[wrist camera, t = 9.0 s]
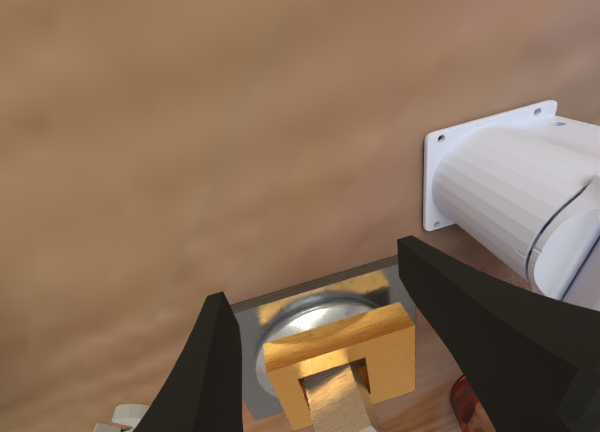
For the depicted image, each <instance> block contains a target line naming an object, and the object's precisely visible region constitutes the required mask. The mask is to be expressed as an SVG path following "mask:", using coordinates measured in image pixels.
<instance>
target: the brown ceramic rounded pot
mask: <svg viewBox="0 0 600 432" xmlns="http://www.w3.org/2000/svg"><path fill="white" fill-rule="evenodd" d="M451 404H452V407H453V410H454V413H455V415H456V418H457V420H458V422H459V425H460V427H461V429H462V431H463V432H496V430H495V428H494V427H493V425H492V423H491V421H490V419H489V417H488V416H487V414H486V412H485V410H484V408H483V406H482V405H481V403H480V401H479V399H478V398H477V396H476V394H475V392H474V391H473V389H472V387H471V386H470V384H469V382H468V380H467V379H466V377H465V376H464V377H462V378H461V379H460V380H459V381H458V382H457V383H456V385H455V386H454V388H453V390H452V392H451Z"/></svg>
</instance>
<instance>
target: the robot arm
mask: <svg viewBox="0 0 600 432" xmlns="http://www.w3.org/2000/svg"><path fill="white" fill-rule="evenodd" d="M556 109H557V102H556V101H553V100H547V101H543V102H539V103H536V104H532V105H529V106H525V107H521V108H518V109H514V110H510V111H507V112H503V113H499V114H496V115H492V116H488V117H485V118H481V119H478V120H474V121H470V122H467V123H463V124H459V125H456V126H452V127H448V128H445V129H441V130H438V131H434V132H431V133H429V134H428V135H427V136H426V138H425V141H424V192H423V228H424V229H425V230H426V231H432V230H436V229H439V228H442V227H446V226H449V225H453V224H457V225H459V226H460V227H461V228H462V229H464V230H465V231H466V232H467V233H468V234H470V235H471V236H472V237H473V238H475V239H476V240H477V241H478V242H479V243H481V244H482V245H483V246H484V247H486V248H487V249H488V250H489V251H490V252H492V253H493V254H494V255H495V256H497V257H498V258H499V259H500V260H501V261H503V262H504V263H505V264H506V265H508V266H509V267H510V268H511V269H512V270H514V271H515V272H516V273H517V274H519V275H520V276H521V277H522V278H523V279H525V280H526V281H527V282H528V283H530V284H531V285H532V292H531V291H528V290H525V289H523V288H520V287H517V286H515V285H512V284H509V283H507V282H504V281H502V280H499V279H497V278H494V277H492V276H490V275H487V274H485V273H483V272H481V271H479V270H476V269H474V268H472V267H470V266H468V265H466V264H464V263H462V262H460V261H458V260H456V259H454V258H452V257H450V256H448V255H446V254H445V253H443V252H441V251H439V250H437V249H435V248H434V247H432V246H430V245H428V244H426V243H425V242H423V241H421V240H419V239H417V238H416V237H414V236H412V235H411V236H408V237H404V238H401V239H398V240H397V244H398V271H399V278H400V280H401V281H402V283H403V285H404V287H405V289H406V290H407V292H408V294H409V296H410V297H411V299H412V300H413V302H414V303H415V304H416V306H417V307H418V308H419V310H420V311H421V313H422V314H423V315H424V317H425V318H426V319H427V321H428V322H429V323H430V325H431V326H432V327H433V329H434V330H435V331H436V333H437V334H438V336H439V337H440V338H441V340H442V341H443V342H444V344H445V345H446V347H447V348H448V349H449V351H450V352H451V354H452V355H453V357H454V359H455V360H456V362H457V364H458V365H459V367H460V369H461V370H462V372H463V374H464V375H465V377H466V379H467V380H468V382H469V384H470V386H471V387H472V389H473V391H474V392H475V394H476V396H477V398H478V399H479V401H480V403H481V405H482V406H483V408H484V410H485V412H486V414H487V416H488V417H489V419H490V421H491V423H492V425H493V427H494V428H495V430H496V432H600V126H597V125H593V124H588V123H584V122H580V121H576V120H572V119H568V118H563V117H559V116H555V113H556ZM535 110H536V112H535ZM534 112H535V113H534ZM441 135H442V137H441V139H440V140H439V141H438V138H439V136H441ZM436 222H437V223H436ZM435 223H436V224H435ZM133 432H243V424H242V344H241V335H240V327H239V323H238V321H237V319H236V317H235V315H234V313H233V311H232V309H231V307H230V305H229V303H228V301H227V299H226V297H225V294H224V292H219V293H216V294H213V295H209V296H207V298H206V300H205V302H204V305H203V307H202V309H201V312H200V314H199V316H198V319H197V321H196V323H195V325H194V328H193V330H192V332H191V334H190V336H189V338H188V340H187V343H186V345H185V347H184V349H183V351H182V353H181V354H180V356H179V358H178V360H177V362H176V364H175V366H174V368H173V370H172V371H171V373H170V375H169V377H168V378H167V380H166V382H165V383H164V385H163V387H162V388H161V390H160V392H159V393H158V395H157V396H156V398H155V400H154V401H153V403H152V404H151V406H150V407H149V409H148V410H147V412H146V413H145V415H144V416H143V418H142V419H141V420H140V422H139V423H138V425H137V426H136V428H135V429H134V430H133Z"/></svg>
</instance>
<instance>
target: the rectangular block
mask: <svg viewBox="0 0 600 432" xmlns="http://www.w3.org/2000/svg"><path fill="white" fill-rule="evenodd" d="M303 380H304V384H305V389H306V394H307V398H308V403H309V407H310V412H311V416H312V421H313V426H314V430H315V432H384V431H383V428H382V426H381V423H380V421H379V418H378V416H377V413H376V411H375V408H374V406H373V403H372V401H371V398H370V395H369V393H368V390H367V388H366V385H365V383H364V380H363V378H362V375H361V373H360V370H359V367H358V365H357V362H356V360H355V361H352V362H349V363H346V364H343V365H340V366H336V367H333V368H330V369H327V370H324V371H321V372H318V373H315V374H312V375H308V376H305V377H303Z"/></svg>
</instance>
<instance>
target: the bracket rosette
mask: <svg viewBox="0 0 600 432" xmlns="http://www.w3.org/2000/svg"><path fill="white" fill-rule="evenodd" d="M230 307H231V309H232V311H233V313H234V315H235V317H236V319H237V321H238V323H239V327H240V335H241V344H242V399H243V400H244V402H245V404H246V406H247V407H248V409H249V411H250V412H251V414H252V416H253V417H254V419H255V421H257V420H260V419H263V418H266V417H269V416H272V415H275V414H278V413H281V412H285V414H286V416H287V418H288V420H289V422H290V424H291V426H292V429H293V431H295V430H298V429H301V428H304V427H307V426H310V425H313V421H312V416H311V412H310V407H309V403H308V398H307V394H306V389H305V384H304V380H303V377H305V376H308V375H312V374H315V373H318V372H321V371H324V370H327V369H330V368H333V367H336V366H340V365H343V364H346V363H349V362H352V361H355V360H356V362H357V365H358V367H359V370H360V373H361V375H362V378H363V380H364V383H365V385H366V388H367V390H368V393H369V395H370V398H371V401H372V403H373V404H376V403H379V402H382V401H385V400H388V399H391V398H394V397H397V396H400V395H403V394H406V393H409V392H412V391H415V344H416V304H415V303H414V302H413V300H412V299H411V297H410V296H409V294H408V292H407V290H406V289H405V287H404V285H403V283H402V281H401V280H400V278H399V271H398V255H396V256H393V257H389V258H386V259H383V260H379V261H376V262H373V263H369V264H366V265H363V266H359V267H356V268H353V269H349V270H346V271H343V272H339V273H336V274H333V275H329V276H326V277H323V278H319V279H316V280H313V281H309V282H306V283H303V284H299V285H296V286H293V287H290V288H286V289H283V290H280V291H276V292H273V293H270V294H266V295H263V296H260V297H256V298H253V299H250V300H246V301H243V302H240V303H236V304H233V305H230Z"/></svg>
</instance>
